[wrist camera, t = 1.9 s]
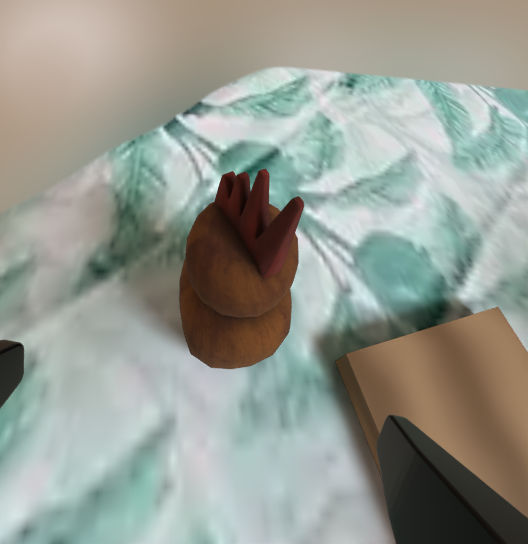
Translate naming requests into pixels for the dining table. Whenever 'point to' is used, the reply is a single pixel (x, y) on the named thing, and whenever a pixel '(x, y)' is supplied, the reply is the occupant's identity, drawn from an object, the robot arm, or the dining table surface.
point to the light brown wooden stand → (452, 395)
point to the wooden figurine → (239, 274)
